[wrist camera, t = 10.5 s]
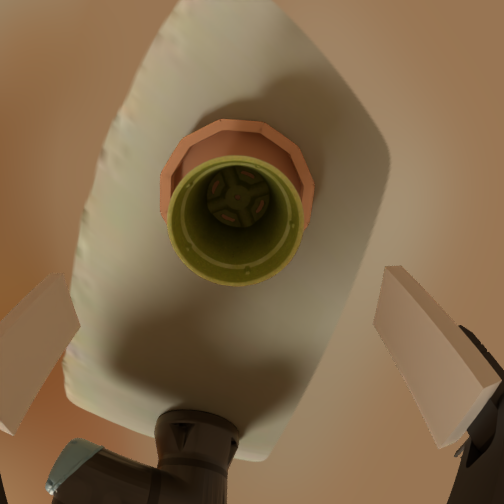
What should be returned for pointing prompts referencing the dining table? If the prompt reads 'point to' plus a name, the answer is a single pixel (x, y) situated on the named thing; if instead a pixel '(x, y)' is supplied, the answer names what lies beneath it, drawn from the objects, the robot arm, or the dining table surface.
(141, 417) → the dining table surface
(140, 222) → the dining table surface
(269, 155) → the terracotta plant saucer
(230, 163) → the plant pot
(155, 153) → the dining table surface
